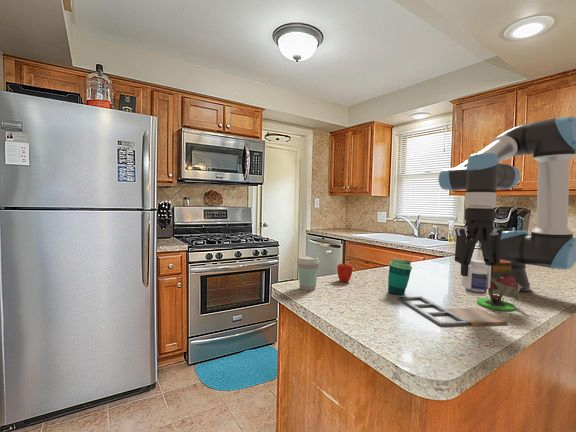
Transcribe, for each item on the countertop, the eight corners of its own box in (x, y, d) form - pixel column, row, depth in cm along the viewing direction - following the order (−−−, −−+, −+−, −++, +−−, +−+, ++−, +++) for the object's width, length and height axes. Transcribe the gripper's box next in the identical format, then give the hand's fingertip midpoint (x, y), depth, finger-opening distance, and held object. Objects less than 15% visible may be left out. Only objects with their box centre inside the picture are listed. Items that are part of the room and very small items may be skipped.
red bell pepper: (352, 280, 129) (353, 262, 129) (351, 283, 123) (351, 265, 123) (337, 278, 131) (338, 261, 131) (335, 282, 125) (336, 264, 125)
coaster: (477, 310, 95) (477, 307, 95) (507, 324, 84) (507, 321, 84) (445, 311, 93) (445, 308, 93) (471, 325, 82) (471, 322, 82)
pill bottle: (490, 297, 85) (491, 263, 85) (469, 296, 86) (470, 262, 86) (481, 292, 90) (483, 259, 90) (462, 290, 91) (463, 258, 91)
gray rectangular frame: (421, 298, 106) (421, 296, 105) (470, 325, 83) (470, 322, 83) (397, 299, 104) (397, 297, 104) (440, 326, 81) (440, 323, 81)
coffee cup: (318, 292, 110) (319, 260, 109) (294, 291, 111) (295, 258, 111) (319, 286, 118) (320, 256, 118) (297, 285, 120) (298, 255, 119)
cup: (388, 288, 117) (389, 258, 117) (410, 291, 114) (412, 260, 114) (387, 294, 109) (388, 261, 109) (411, 297, 107) (412, 263, 106)
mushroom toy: (505, 314, 92) (508, 265, 91) (467, 301, 103) (469, 258, 103) (529, 310, 96) (532, 263, 96) (490, 298, 108) (492, 256, 107)
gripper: (497, 208, 92) (493, 283, 93) (442, 206, 90) (438, 284, 90) (519, 208, 85) (514, 290, 86) (460, 207, 82) (456, 291, 83)
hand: (475, 286), depth 88 cm, fingers closed on pill bottle, 5 cm apart
